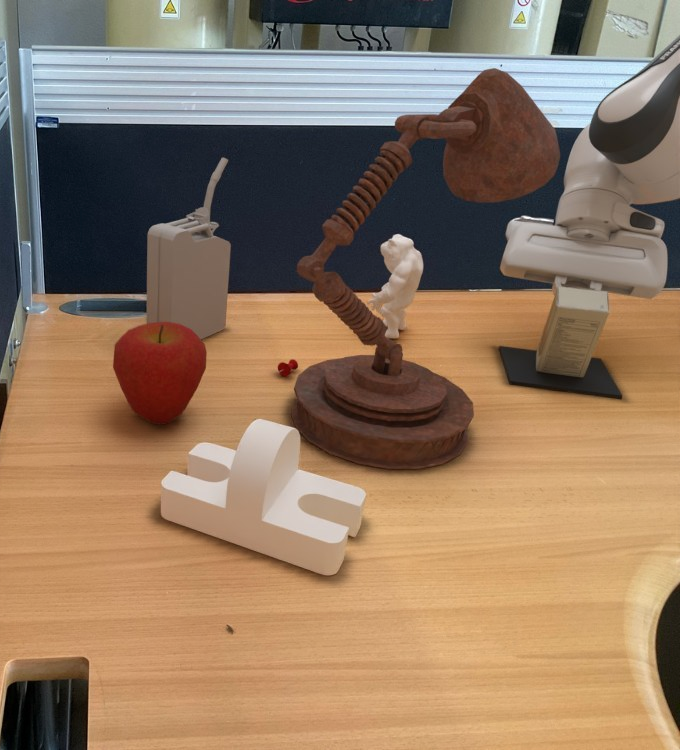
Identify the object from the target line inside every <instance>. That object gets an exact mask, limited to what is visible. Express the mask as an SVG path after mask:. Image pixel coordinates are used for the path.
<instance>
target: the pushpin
mask: <svg viewBox="0 0 680 750" xmlns="http://www.w3.org/2000/svg"><path fill="white" fill-rule="evenodd" d="M298 368H299V363H298V362H297V360H296V359H294V358H291V359H290V360H289V361H288V363H286V362H283V361H281V362H280V363H278V365H277V371H278V372H277V374H280V375H281V376H282V377H289V376H290V375H291V370H293V371H295V370H298Z"/></svg>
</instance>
